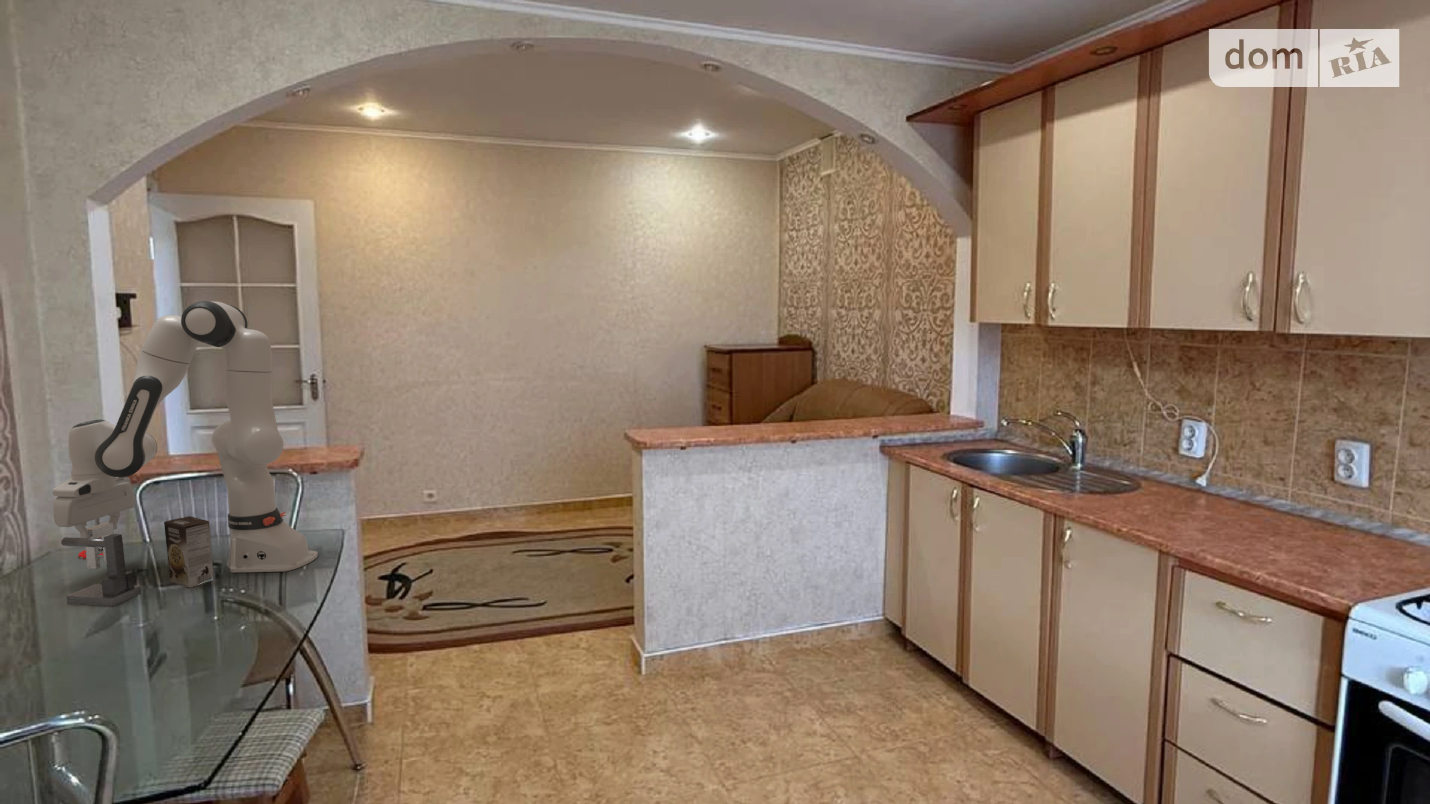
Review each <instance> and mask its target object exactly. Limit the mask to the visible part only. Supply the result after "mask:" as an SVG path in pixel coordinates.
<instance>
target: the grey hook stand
mask: <svg viewBox="0 0 1430 804" xmlns="http://www.w3.org/2000/svg"><path fill="white" fill-rule="evenodd" d="M60 544H61V546H63V547H82V548H83V547H84V548H85V547H102V548H105V552H106V561H107V563H106V567H107V577H105V578H102V579H101V580H100V581H101V583H95V584H92V585H90V586H87V587H85V588H82V589H81V590H78V591H77V590H76V592H73V593H71V594H67V595H66V604H67V605H78V606H79V605H81V606H82V605H83V606H96V607H97V606H98V607H99V606H100V607H115V606H117V605H119V604H122V603H123V602H125V601H128V600H131V599H132V598H135V597H137V596H139V595H142V586H141V585H135V580H134V572H133V571H126V561H125V553H124V551H125V550H124V541H123V534H121V533H114V534H111V535H108V536H106V537H104V539H91V538H81V537H67V536H66V537H62V539H61V543H60Z"/></svg>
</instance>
